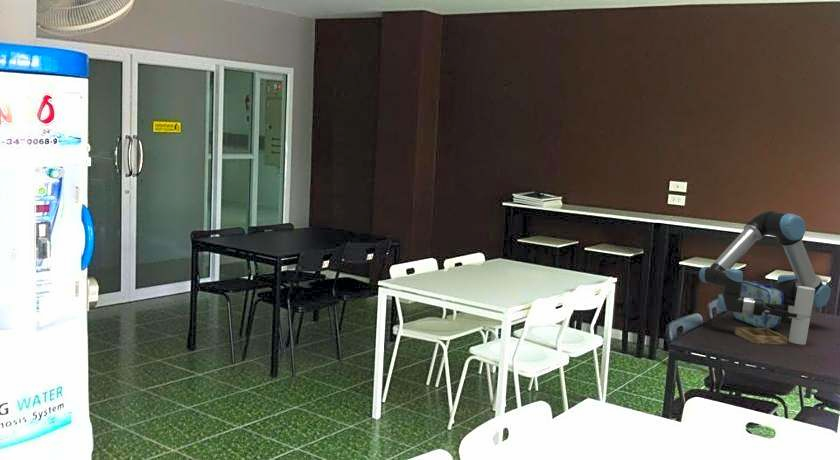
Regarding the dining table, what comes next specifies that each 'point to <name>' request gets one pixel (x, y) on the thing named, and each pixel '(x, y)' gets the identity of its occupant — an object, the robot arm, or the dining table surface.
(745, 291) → the lunch box
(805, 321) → the tall white box
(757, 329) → the oak tray
